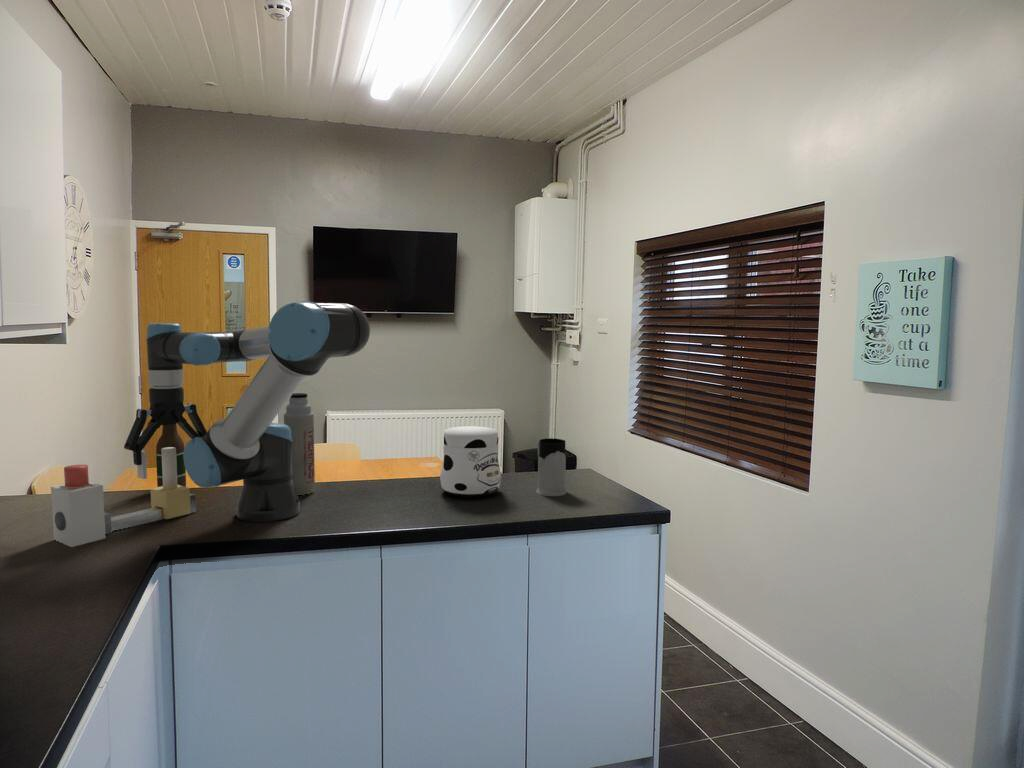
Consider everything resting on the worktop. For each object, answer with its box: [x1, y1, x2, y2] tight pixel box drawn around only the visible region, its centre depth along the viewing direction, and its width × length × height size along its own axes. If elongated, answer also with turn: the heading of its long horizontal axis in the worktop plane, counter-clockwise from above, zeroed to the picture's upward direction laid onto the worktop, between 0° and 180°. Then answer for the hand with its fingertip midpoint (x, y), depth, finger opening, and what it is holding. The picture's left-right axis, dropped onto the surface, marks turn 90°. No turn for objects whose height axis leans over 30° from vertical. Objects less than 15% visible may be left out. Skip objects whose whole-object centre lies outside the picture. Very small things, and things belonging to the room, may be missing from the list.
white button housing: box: [50, 481, 107, 548], centre depth 150 cm, size 8×7×12 cm
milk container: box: [439, 425, 502, 498], centre depth 193 cm, size 17×17×18 cm
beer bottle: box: [155, 423, 187, 487], centre depth 190 cm, size 8×8×24 cm
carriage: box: [150, 447, 191, 520], centre depth 168 cm, size 7×6×16 cm
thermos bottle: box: [283, 392, 316, 496], centre depth 190 cm, size 8×8×28 cm
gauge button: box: [63, 464, 90, 487], centre depth 149 cm, size 4×4×4 cm
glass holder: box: [535, 437, 567, 497], centre depth 198 cm, size 9×14×15 cm, turn 21°
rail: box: [104, 492, 197, 535], centre depth 164 cm, size 5×22×4 cm, turn 147°
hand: (169, 472), depth 168 cm, fingers open, 13 cm apart
